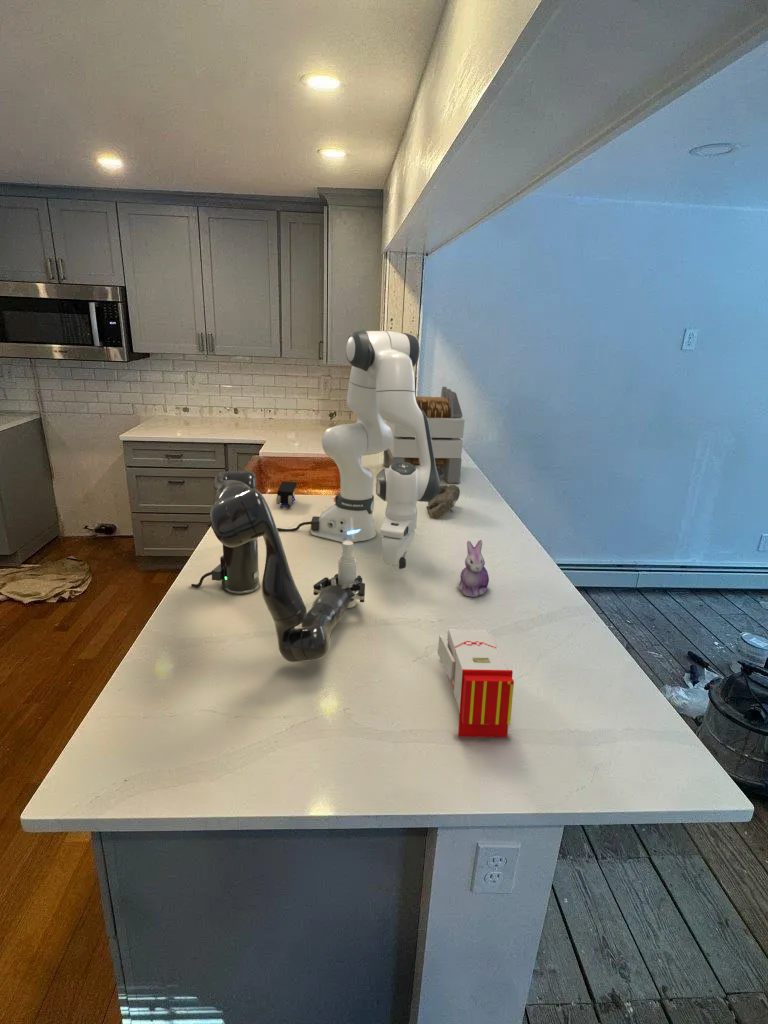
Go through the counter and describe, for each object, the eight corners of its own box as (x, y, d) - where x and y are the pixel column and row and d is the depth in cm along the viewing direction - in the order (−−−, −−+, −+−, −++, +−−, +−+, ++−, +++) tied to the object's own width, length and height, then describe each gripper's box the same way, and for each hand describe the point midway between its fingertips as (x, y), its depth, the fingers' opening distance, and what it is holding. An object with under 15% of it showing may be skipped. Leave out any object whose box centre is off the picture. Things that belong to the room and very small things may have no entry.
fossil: (423, 490, 234) (453, 471, 229) (436, 508, 237) (466, 489, 232) (421, 514, 215) (454, 493, 210) (435, 532, 217) (468, 512, 212)
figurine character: (293, 513, 218) (297, 497, 231) (292, 495, 215) (297, 480, 228) (275, 513, 218) (281, 496, 231) (274, 495, 214) (280, 479, 228)
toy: (488, 613, 130) (523, 677, 101) (484, 667, 133) (517, 744, 104) (435, 612, 130) (455, 676, 101) (432, 666, 133) (451, 743, 103)
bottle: (353, 598, 154) (355, 538, 148) (356, 607, 150) (358, 546, 144) (336, 600, 153) (337, 539, 147) (339, 608, 149) (340, 546, 143)
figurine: (470, 601, 155) (475, 551, 150) (449, 585, 164) (454, 537, 159) (497, 594, 160) (504, 545, 154) (476, 579, 168) (481, 532, 163)
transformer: (382, 463, 289) (386, 382, 275) (445, 464, 293) (451, 384, 279) (390, 482, 257) (394, 392, 243) (460, 483, 261) (468, 394, 247)
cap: (389, 567, 161) (390, 560, 160) (394, 562, 164) (394, 555, 164) (403, 570, 160) (403, 563, 159) (407, 564, 163) (407, 557, 163)
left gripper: (358, 597, 133) (376, 568, 149) (301, 588, 136) (324, 560, 152) (357, 625, 136) (375, 593, 152) (301, 616, 139) (324, 585, 155)
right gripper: (400, 508, 168) (398, 551, 172) (378, 531, 149) (376, 579, 154) (421, 511, 166) (418, 554, 171) (401, 535, 148) (398, 583, 152)
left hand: (349, 577), depth 152 cm, fingers closed on bottle, 4 cm apart
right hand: (398, 566), depth 162 cm, fingers closed on cap, 4 cm apart
